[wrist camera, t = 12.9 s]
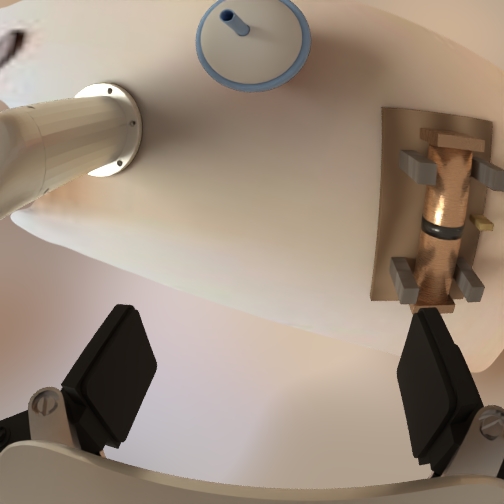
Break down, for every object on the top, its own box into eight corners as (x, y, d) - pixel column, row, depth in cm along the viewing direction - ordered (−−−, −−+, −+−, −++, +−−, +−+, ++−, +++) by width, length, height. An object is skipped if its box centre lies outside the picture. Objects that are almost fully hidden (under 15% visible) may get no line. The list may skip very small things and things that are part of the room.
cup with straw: (324, 37, 28) (337, -19, 12) (289, 107, 32) (269, 115, 16) (246, 7, 27) (190, -60, 11) (214, 75, 32) (130, 64, 16)
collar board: (369, 295, 41) (378, 336, 34) (381, 107, 30) (401, 110, 23) (460, 294, 38) (480, 330, 31) (487, 120, 27) (525, 130, 20)
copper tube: (439, 287, 37) (452, 312, 32) (402, 288, 38) (412, 314, 33) (462, 132, 28) (484, 140, 23) (419, 127, 29) (438, 134, 24)
